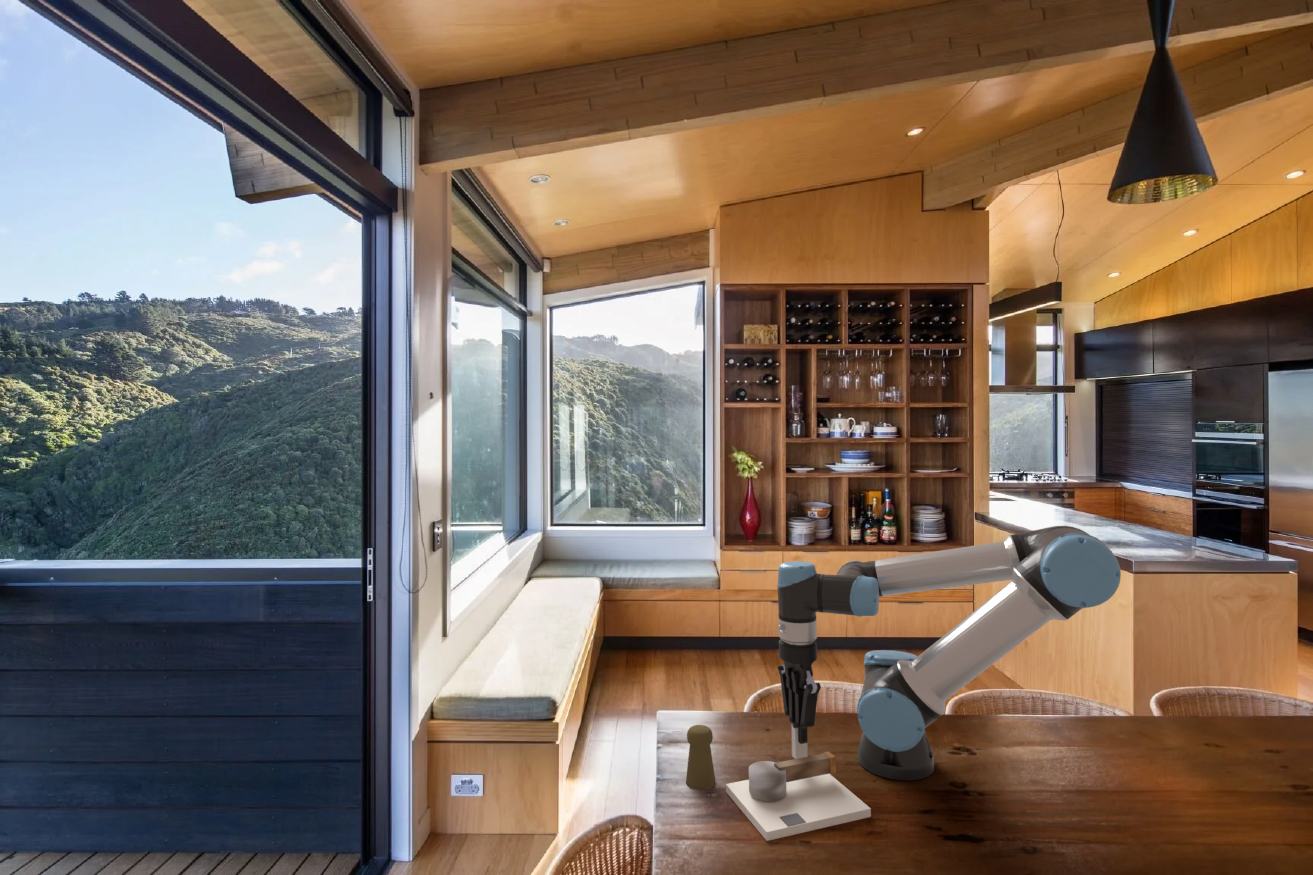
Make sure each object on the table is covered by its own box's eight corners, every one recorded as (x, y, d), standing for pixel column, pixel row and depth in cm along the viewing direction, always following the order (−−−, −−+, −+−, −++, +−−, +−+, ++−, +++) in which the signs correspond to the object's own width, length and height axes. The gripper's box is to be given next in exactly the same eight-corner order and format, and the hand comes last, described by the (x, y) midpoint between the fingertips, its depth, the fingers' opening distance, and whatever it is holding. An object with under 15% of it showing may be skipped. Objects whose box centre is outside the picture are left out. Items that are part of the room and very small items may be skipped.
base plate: (819, 772, 137) (819, 764, 137) (870, 816, 121) (870, 807, 121) (725, 791, 130) (725, 783, 130) (766, 840, 114) (766, 831, 114)
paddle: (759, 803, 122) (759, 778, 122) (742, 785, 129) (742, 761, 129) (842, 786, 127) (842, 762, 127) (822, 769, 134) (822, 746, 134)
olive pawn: (714, 791, 131) (712, 734, 131) (683, 788, 132) (682, 732, 132) (717, 775, 136) (716, 721, 136) (688, 773, 138) (687, 720, 138)
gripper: (765, 632, 139) (767, 745, 139) (797, 651, 127) (800, 775, 127) (797, 628, 142) (799, 739, 142) (831, 646, 129) (834, 768, 129)
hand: (799, 756), depth 134 cm, fingers closed
